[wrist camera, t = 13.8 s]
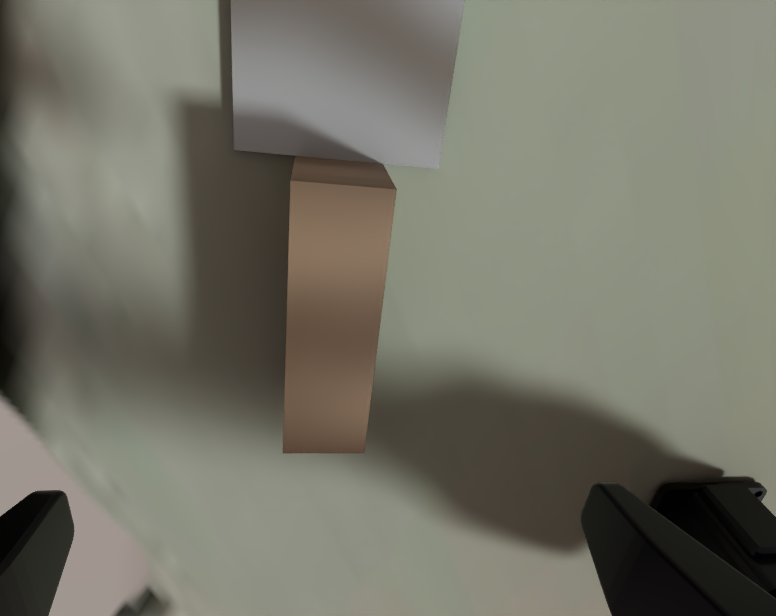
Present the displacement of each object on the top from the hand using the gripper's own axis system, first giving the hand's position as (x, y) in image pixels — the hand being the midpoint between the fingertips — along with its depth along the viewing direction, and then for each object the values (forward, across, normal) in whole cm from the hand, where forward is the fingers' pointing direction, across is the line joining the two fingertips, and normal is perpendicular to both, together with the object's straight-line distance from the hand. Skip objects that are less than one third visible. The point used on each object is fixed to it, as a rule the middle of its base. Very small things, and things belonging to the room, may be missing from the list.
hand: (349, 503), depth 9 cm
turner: (+12, 0, -2) cm, 12 cm away
